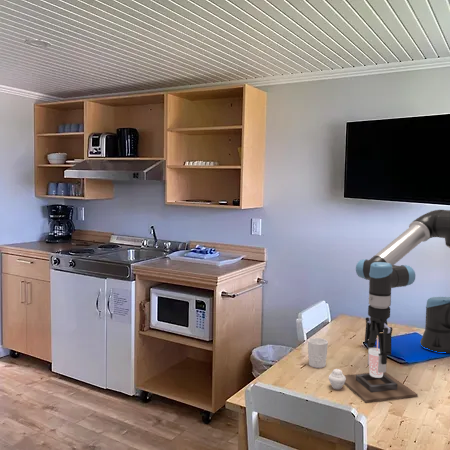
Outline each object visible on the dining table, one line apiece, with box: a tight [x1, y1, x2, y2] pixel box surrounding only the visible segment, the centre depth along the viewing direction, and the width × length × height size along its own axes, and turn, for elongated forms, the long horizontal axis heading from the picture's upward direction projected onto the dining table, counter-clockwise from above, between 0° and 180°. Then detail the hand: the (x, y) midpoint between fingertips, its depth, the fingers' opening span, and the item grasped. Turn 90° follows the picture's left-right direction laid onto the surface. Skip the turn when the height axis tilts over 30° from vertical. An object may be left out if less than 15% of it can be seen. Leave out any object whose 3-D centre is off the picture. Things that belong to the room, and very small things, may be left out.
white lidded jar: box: [328, 368, 346, 390], centre depth 168 cm, size 6×6×7 cm
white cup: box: [307, 337, 328, 369], centre depth 189 cm, size 8×8×10 cm
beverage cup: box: [367, 336, 383, 378], centre depth 168 cm, size 6×6×14 cm
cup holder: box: [343, 371, 419, 404], centre depth 169 cm, size 20×20×3 cm
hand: (376, 368), depth 168 cm, fingers closed on beverage cup, 6 cm apart
